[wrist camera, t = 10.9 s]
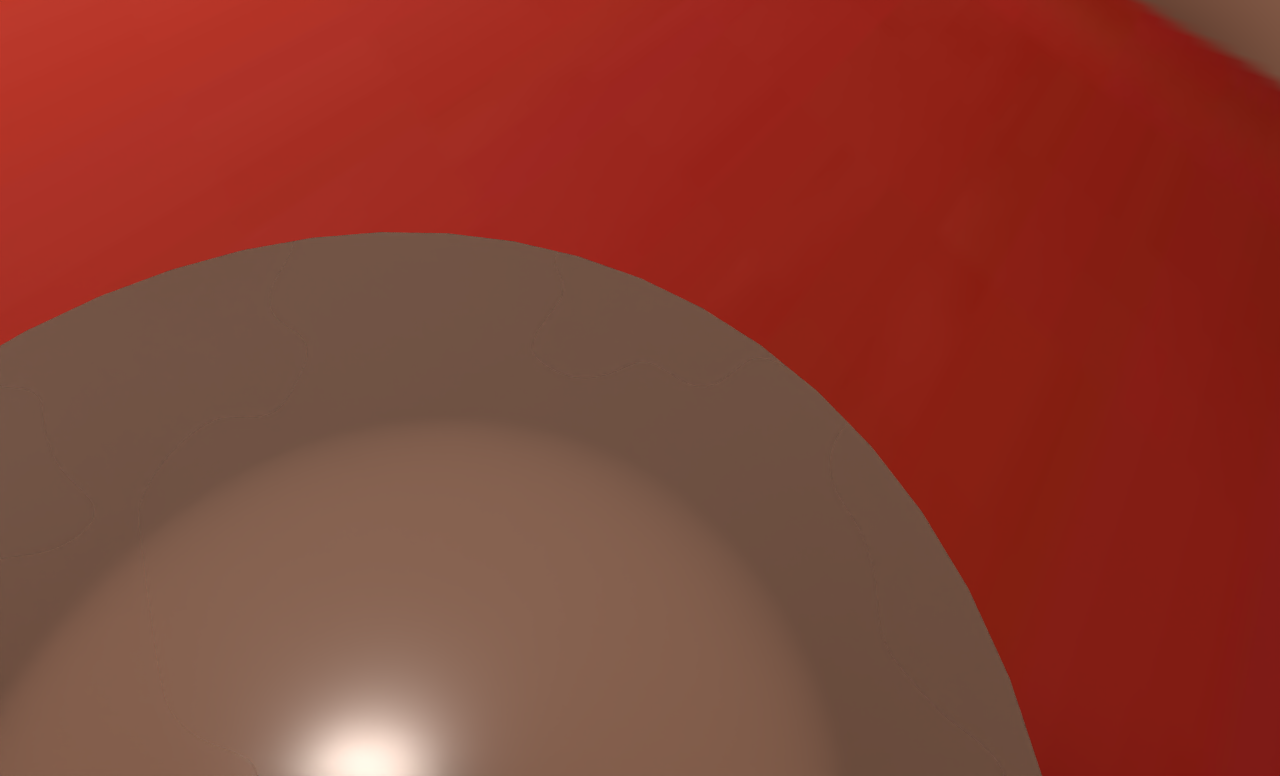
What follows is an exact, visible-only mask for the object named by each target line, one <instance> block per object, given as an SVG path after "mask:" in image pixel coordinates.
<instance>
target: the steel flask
mask: <svg viewBox="0 0 1280 776" xmlns="http://www.w3.org/2000/svg"><path fill="white" fill-rule="evenodd" d="M0 776H1042V775H1041V772H1040V769H1039V766H1038V763H1037V760H1036V757H1035V754H1034V751H1033V748H1032V745H1031V742H1030V739H1029V736H1028V733H1027V730H1026V727H1025V724H1024V721H1023V718H1022V715H1021V712H1020V709H1019V706H1018V703H1017V700H1016V697H1015V694H1014V691H1013V688H1012V685H1011V681H1010V678H1009V676H1008V674H1007V672H1006V670H1005V668H1004V665H1003V663H1002V661H1001V659H1000V657H999V655H998V652H997V650H996V648H995V646H994V644H993V641H992V639H991V637H990V635H989V633H988V631H987V628H986V626H985V624H984V622H983V620H982V618H981V615H980V613H979V611H978V609H977V607H976V605H975V602H974V600H973V598H972V596H971V594H970V591H969V589H968V588H967V586H966V584H965V583H964V581H963V579H962V578H961V576H960V574H959V573H958V571H957V569H956V568H955V566H954V564H953V563H952V561H951V559H950V558H949V556H948V555H947V553H946V551H945V550H944V548H943V546H942V545H941V543H940V541H939V540H938V538H937V536H936V535H935V533H934V531H933V530H932V528H931V526H930V525H929V523H928V521H927V520H926V518H925V516H924V515H923V513H922V512H921V510H920V509H919V508H918V506H917V505H916V504H915V503H914V501H913V500H912V499H911V497H910V496H909V495H908V494H907V492H906V491H905V490H904V488H903V487H902V486H901V484H900V483H899V482H898V481H897V479H896V478H895V477H894V475H893V474H892V473H891V472H890V470H889V469H888V468H887V466H886V465H885V464H884V462H883V461H882V460H881V459H880V457H879V456H878V455H877V453H876V452H875V451H874V450H873V448H872V447H871V446H870V445H869V444H868V443H867V442H866V441H865V440H864V439H863V438H862V437H861V436H860V435H859V434H858V433H857V432H856V431H855V429H854V428H853V427H852V426H851V425H850V424H849V423H848V422H847V421H846V420H845V419H844V418H843V417H842V416H841V415H840V414H839V413H838V412H837V411H836V410H835V409H834V408H833V407H832V406H831V405H830V404H829V403H828V402H827V401H826V400H825V399H824V398H823V397H822V396H821V395H820V394H819V393H818V392H817V391H816V390H815V389H814V388H813V387H811V386H810V385H809V384H808V383H806V382H805V381H804V380H803V379H801V378H800V377H799V376H798V375H796V374H795V373H794V372H793V371H792V370H790V369H789V368H788V367H787V366H785V365H784V364H783V363H782V362H780V361H779V360H778V359H777V358H776V357H774V356H773V355H772V354H771V353H769V352H768V351H767V350H766V349H764V348H763V347H762V346H761V345H759V344H758V343H756V342H754V341H753V340H751V339H750V338H748V337H747V336H745V335H743V334H742V333H740V332H739V331H737V330H736V329H734V328H732V327H731V326H729V325H728V324H726V323H725V322H723V321H721V320H720V319H718V318H717V317H715V316H713V315H712V314H710V313H709V312H707V311H706V310H704V309H702V308H701V307H699V306H697V305H695V304H692V303H690V302H688V301H686V300H684V299H682V298H680V297H678V296H676V295H674V294H672V293H670V292H668V291H666V290H664V289H661V288H659V287H657V286H655V285H653V284H651V283H649V282H647V281H645V280H643V279H641V278H638V277H635V276H632V275H630V274H627V273H624V272H621V271H618V270H615V269H612V268H610V267H607V266H604V265H601V264H598V263H595V262H592V261H590V260H587V259H584V258H581V257H578V256H574V255H570V254H566V253H561V252H557V251H553V250H548V249H544V248H540V247H535V246H531V245H527V244H522V243H518V242H514V241H505V240H497V239H489V238H481V237H472V236H464V235H456V234H446V233H390V232H379V233H367V234H354V235H342V236H330V237H318V238H309V239H304V240H298V241H292V242H287V243H281V244H276V245H270V246H264V247H259V248H253V249H248V250H242V251H239V252H235V253H231V254H228V255H224V256H220V257H217V258H213V259H209V260H206V261H202V262H198V263H195V264H191V265H188V266H184V267H180V268H177V269H173V270H170V271H167V272H165V273H162V274H159V275H156V276H154V277H151V278H148V279H146V280H143V281H140V282H138V283H135V284H132V285H130V286H127V287H124V288H121V289H119V290H116V291H113V292H111V293H108V294H105V295H103V296H100V297H98V298H95V299H93V300H91V301H89V302H87V303H85V304H83V305H81V306H78V307H76V308H74V309H72V310H70V311H68V312H66V313H64V314H61V315H59V316H57V317H55V318H53V319H51V320H49V321H47V322H44V323H42V324H40V325H38V326H36V327H34V328H32V329H30V330H27V331H25V332H24V333H22V334H20V335H18V336H17V337H15V338H13V339H11V340H10V341H8V342H6V343H4V344H3V345H1V346H0Z"/></svg>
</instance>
